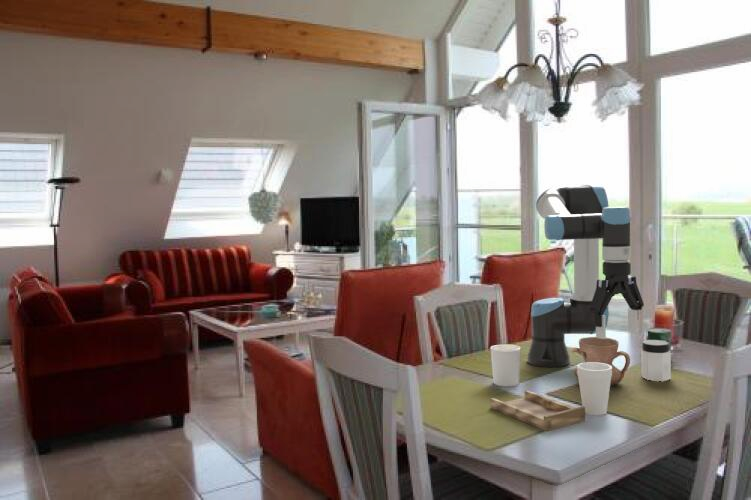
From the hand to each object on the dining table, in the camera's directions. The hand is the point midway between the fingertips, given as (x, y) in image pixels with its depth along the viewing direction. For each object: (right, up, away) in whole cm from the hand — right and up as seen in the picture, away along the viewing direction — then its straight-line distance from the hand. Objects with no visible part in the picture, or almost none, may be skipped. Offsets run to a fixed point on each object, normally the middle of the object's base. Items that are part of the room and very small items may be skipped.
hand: (617, 335), depth 185 cm
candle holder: (-26, -20, +29) cm, 44 cm away
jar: (+23, -18, +28) cm, 41 cm away
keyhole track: (-24, -22, -2) cm, 33 cm away
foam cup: (-7, -22, -2) cm, 23 cm away
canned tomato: (+35, -16, +51) cm, 64 cm away
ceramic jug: (+4, -19, +24) cm, 31 cm away
